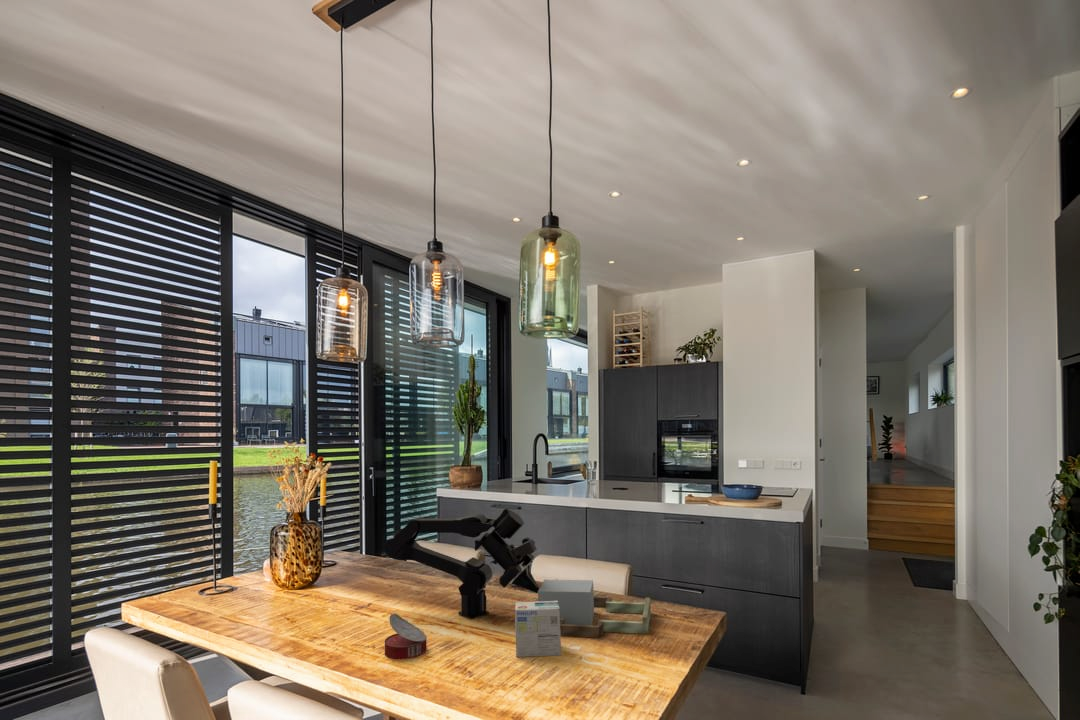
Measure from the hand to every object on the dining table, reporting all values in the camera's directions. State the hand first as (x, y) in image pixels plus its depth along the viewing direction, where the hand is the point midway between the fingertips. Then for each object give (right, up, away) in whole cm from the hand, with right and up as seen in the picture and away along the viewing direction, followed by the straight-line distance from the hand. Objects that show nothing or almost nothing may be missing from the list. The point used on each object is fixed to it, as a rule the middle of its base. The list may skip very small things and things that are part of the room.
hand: (538, 591), depth 169 cm
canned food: (-32, -6, -24) cm, 40 cm away
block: (+8, -7, -2) cm, 11 cm away
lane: (+14, -6, -4) cm, 16 cm away
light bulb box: (0, -5, -26) cm, 26 cm away
